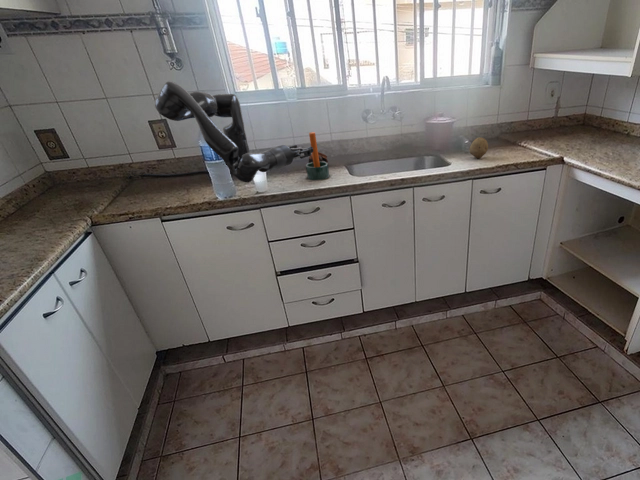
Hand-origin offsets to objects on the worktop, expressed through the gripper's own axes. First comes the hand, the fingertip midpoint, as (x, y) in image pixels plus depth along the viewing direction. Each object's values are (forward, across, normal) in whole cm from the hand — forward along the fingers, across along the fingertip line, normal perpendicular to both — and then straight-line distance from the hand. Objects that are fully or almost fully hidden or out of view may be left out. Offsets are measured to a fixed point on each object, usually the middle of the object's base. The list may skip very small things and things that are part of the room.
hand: (304, 148), depth 163 cm
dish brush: (+6, 0, -13) cm, 14 cm away
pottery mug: (+20, -10, -14) cm, 26 cm away
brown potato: (+62, +57, -14) cm, 86 cm away
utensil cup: (+6, 0, -14) cm, 15 cm away
